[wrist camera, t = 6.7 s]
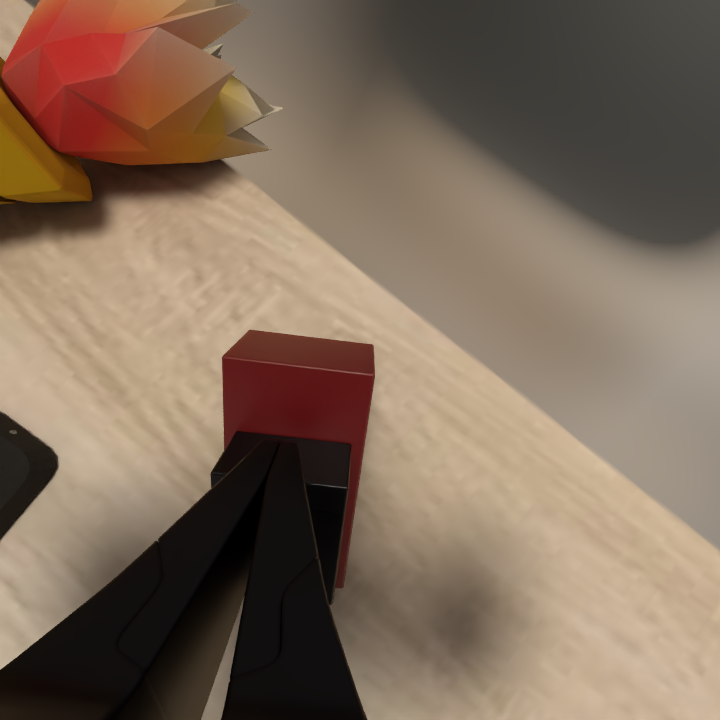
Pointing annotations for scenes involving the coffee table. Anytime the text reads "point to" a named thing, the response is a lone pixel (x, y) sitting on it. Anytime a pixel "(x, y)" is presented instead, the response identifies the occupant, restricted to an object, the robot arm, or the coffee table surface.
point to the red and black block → (304, 424)
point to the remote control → (20, 470)
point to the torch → (119, 93)
